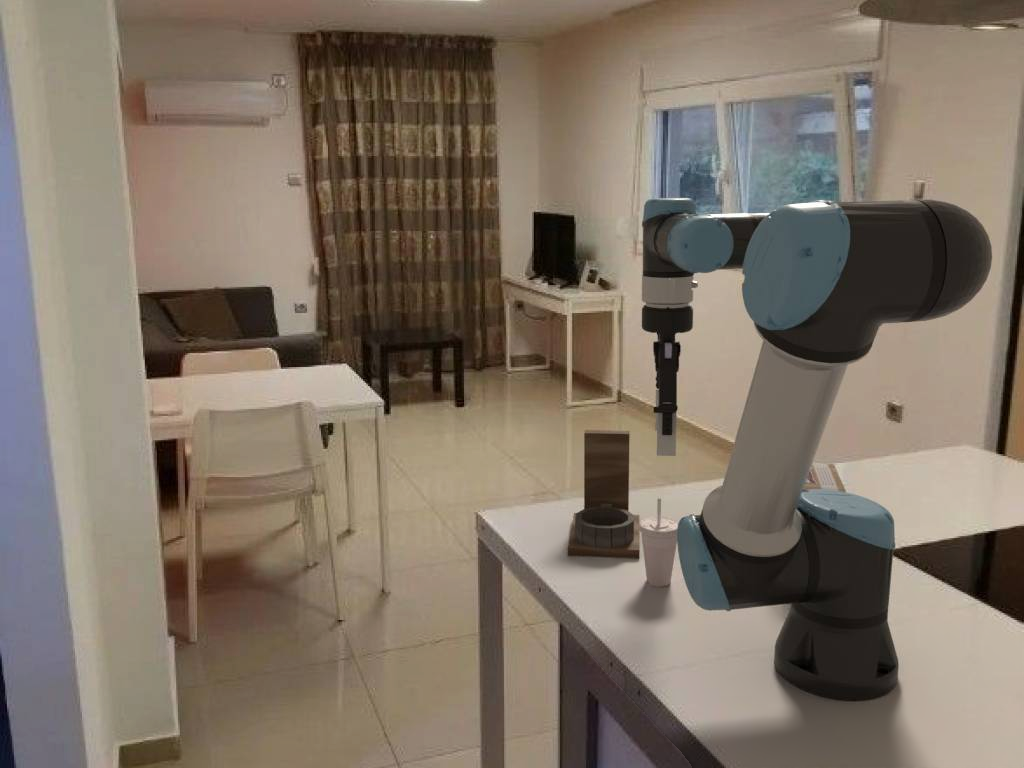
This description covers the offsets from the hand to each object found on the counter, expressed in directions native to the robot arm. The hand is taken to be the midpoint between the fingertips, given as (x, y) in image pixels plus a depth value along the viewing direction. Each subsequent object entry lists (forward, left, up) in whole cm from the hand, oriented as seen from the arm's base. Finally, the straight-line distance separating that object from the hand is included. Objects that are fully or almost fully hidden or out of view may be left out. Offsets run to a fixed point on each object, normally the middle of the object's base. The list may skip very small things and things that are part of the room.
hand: (664, 442), depth 142 cm
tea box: (+10, -23, -23) cm, 34 cm away
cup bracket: (+16, +10, -23) cm, 29 cm away
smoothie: (-1, +1, -23) cm, 23 cm away
